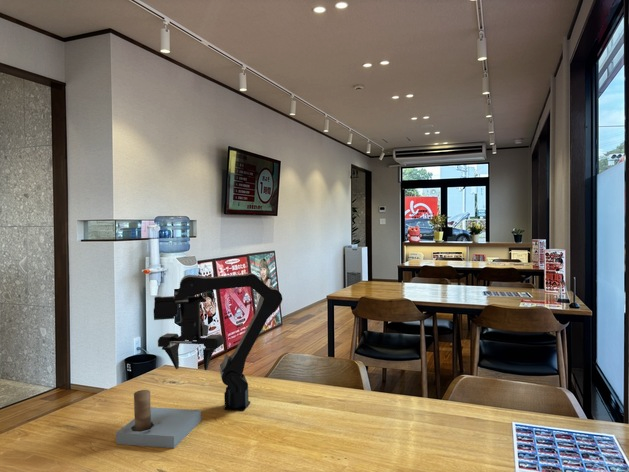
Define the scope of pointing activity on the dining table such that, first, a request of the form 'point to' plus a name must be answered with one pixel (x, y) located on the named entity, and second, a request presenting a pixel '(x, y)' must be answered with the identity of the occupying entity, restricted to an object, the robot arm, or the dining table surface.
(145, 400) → the peg
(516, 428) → the dining table surface
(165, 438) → the plate
